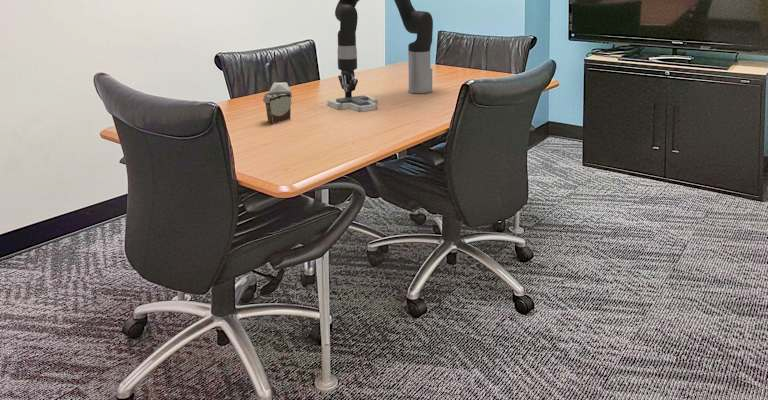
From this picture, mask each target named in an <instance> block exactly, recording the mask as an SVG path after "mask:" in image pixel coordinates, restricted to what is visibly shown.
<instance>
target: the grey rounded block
mask: <svg viewBox="0 0 768 400" xmlns="http://www.w3.org/2000/svg"><path fill="white" fill-rule="evenodd" d="M279 91H289V92H291V95H292V96H293V94H292V91H291V89H290V87H289V84H288V82H273V83H272V85H271V87H270V89H269V91H268V93H270V92H279Z"/></svg>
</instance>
